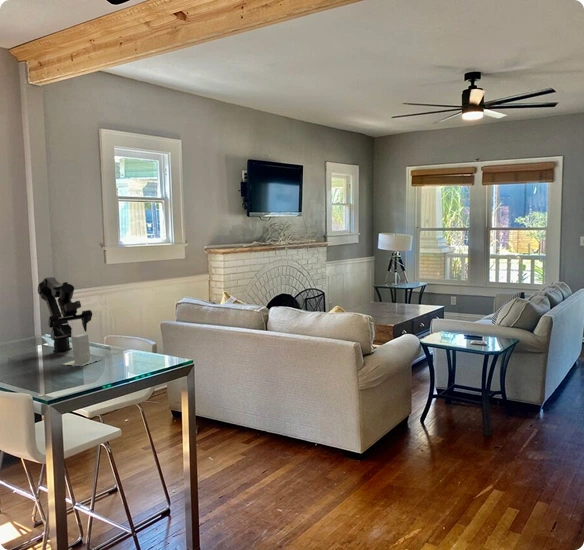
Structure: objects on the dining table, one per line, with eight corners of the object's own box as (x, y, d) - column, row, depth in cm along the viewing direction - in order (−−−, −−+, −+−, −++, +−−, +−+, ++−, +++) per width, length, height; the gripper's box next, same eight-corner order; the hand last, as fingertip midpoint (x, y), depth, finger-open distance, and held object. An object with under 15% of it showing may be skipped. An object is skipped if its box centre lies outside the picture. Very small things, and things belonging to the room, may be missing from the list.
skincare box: (84, 359, 250) (81, 333, 248) (91, 359, 248) (88, 334, 246) (73, 363, 244) (70, 336, 243) (80, 363, 242) (77, 337, 241)
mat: (84, 357, 254) (84, 356, 254) (102, 359, 248) (102, 359, 248) (62, 364, 244) (62, 364, 243) (81, 367, 238) (81, 366, 238)
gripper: (46, 298, 246) (55, 326, 239) (89, 292, 257) (99, 319, 250) (44, 313, 253) (53, 340, 246) (85, 307, 264) (95, 333, 257)
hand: (75, 333), depth 249 cm, fingers open, 9 cm apart
